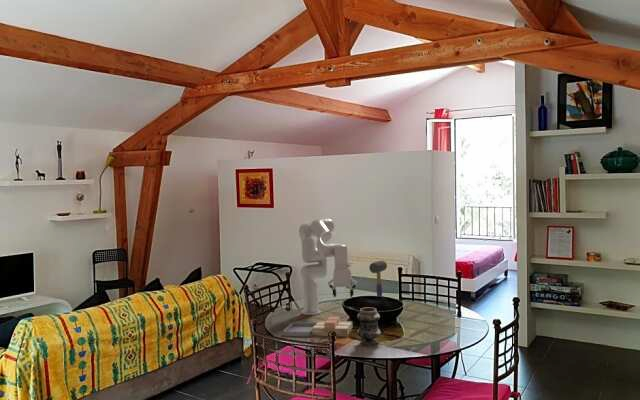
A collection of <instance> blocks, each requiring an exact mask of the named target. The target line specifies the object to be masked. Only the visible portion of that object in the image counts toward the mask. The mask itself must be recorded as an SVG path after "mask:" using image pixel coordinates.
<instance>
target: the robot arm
mask: <svg viewBox="0 0 640 400" xmlns="http://www.w3.org/2000/svg"><path fill="white" fill-rule="evenodd" d="M334 229H335V224H334V221H333V220H332V219H331V218H321V219H320V218H319V219H315V220H313V221H311V222H308V223H303V224H301V225H300V226H299V229H298V234H299V235H298V236H299V239H300V240H301V257H302V261H303V263H306V265H303V266H302V267H301V268H300V272H299V273H300V277H301V282H302V293H303V295H302V297H303V309H302V311H301V314H302V315H303V316H314V315H315V316H316V315H319V314H321V313H322V310H321V309H319V294H318V283H316V282H315V280H316V279H322V278H325V277H326V276H327V273H328V262H327V261H328V260H327V258H332V257H333V258H334V269H333V273H332V274H333V276H332V279H331V280H329V281H327V285H328V286H329V288H330V289H331V290H332V296H333V298H335V297H337V289H336V288H347V287H348V288H349V289H350V290H349V297H350V298H352V297H353V296H354V289H355V288H356V287H357V285H358V281H357V280H355V279H353V277H352V272H351V269H350V267H351V264H350V263H349V262H348V261H349V260H348V259H349V257H348V246H347V245H346V244H342V243H340V242H337V243H336V242H335V243H328V242H329V241H330V240H331V238H332V232H333V231H334ZM313 237H316V238H317V239H316V242H315V239H314V238H313ZM315 243H316V244H315ZM313 263H314V264H313ZM332 283H333V285H332Z"/></svg>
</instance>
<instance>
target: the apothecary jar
mask: <svg viewBox="0 0 640 400" xmlns="http://www.w3.org/2000/svg"><path fill="white" fill-rule="evenodd" d="M356 318H357V320H358V321H359V328H358V329H357V336H358V337H359V338H361V339H363V340H360V342H359V344H360V346H364V347H375V346H378V345H379V344H380V341H378V340H376V339H377V338H378V337H380V335H381V333H382V332H381V330H380V328H379V323H378V322H379V320H380V318H381V315H380V314H379V312H378V311H377V308H375V307H369V306H368V307H367V306H366V307H362V308H360V309H359V312H358V314H357V316H356Z"/></svg>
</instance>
